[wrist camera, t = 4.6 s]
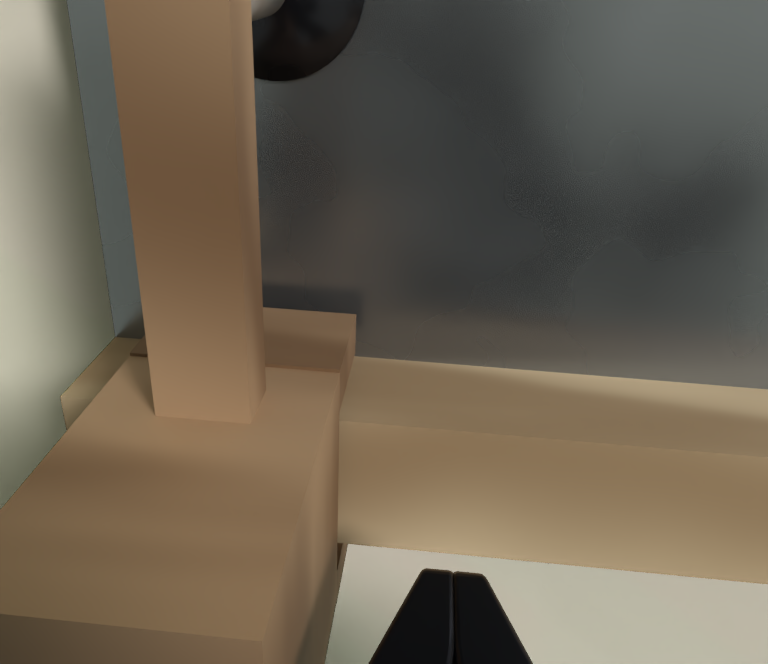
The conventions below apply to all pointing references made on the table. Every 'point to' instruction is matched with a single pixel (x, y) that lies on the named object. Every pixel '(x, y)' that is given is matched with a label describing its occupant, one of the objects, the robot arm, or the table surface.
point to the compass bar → (542, 465)
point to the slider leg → (189, 400)
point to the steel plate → (498, 180)
